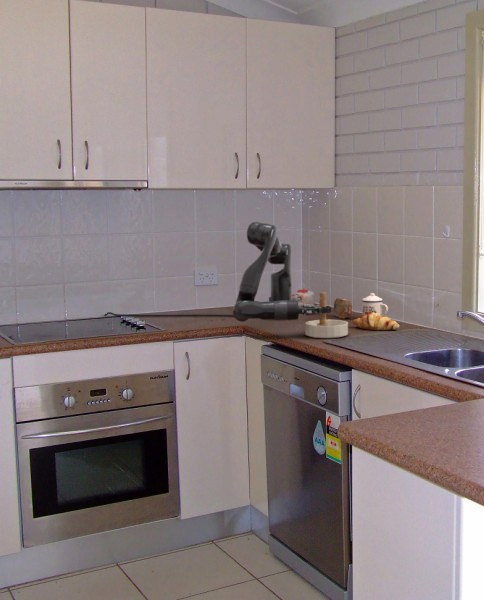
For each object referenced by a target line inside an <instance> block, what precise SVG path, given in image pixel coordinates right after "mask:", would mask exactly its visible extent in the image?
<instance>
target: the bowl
mask: <svg viewBox="0 0 484 600" xmlns="http://www.w3.org/2000/svg"><path fill="white" fill-rule="evenodd" d="M317 323H319V319H314V320H309V321H306V322H305V323H304V335H305V336H307V337H310V338H314V339H339V338H343V337H345V336H348V335H349V322H348V321H347V320H343V319H342V320H341V319H326V323H328V324H329V326H317Z"/></svg>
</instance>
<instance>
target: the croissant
mask: <svg viewBox="0 0 484 600" xmlns="http://www.w3.org/2000/svg"><path fill="white" fill-rule="evenodd" d="M351 322H352V324H353V325H355V326H356V327H358V328H359V329H364V330H368V331H369V330H370V331H390V330H398V329H399V328H400V324H399V323H397V321H396V320H393V319H391V318H390V316H386V315H382V316H381V315H380V314H378V313H373V312H372V313H370V314H369V315H368V316H364V317H363V316H362V317H357V318H356V319H351Z"/></svg>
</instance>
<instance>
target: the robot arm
mask: <svg viewBox="0 0 484 600" xmlns="http://www.w3.org/2000/svg"><path fill="white" fill-rule="evenodd" d="M277 234H278V230H277V226H276V225H275V224H272V223H268V222H263V221H258V220H254V221H251V222H249V224H248V226H247V228H246V235H245V236H246V240H247V242H248V243H249V244H251V245H252V246H255V248H257V249H258V250H259V252H260V253H259V255H258V256H257V257H256V259H254V261H252V263H250V264H249V265H248V267H246V268H245V270H244V272H243V274H242V276H241V279H240V283H239V286H238V294H237V297H236V300H235V303H234V305H233V307H232V314H218V313H217V314H214V313H213V314H210V313H209V314H207V313H205V314H203V313H201V314H200V313H199V314H195V313H193V314H191V313H190V314H189V313H188V314H184V313H183V314H121V313H120V314H119V313H113V312H110V311H109V312H106V313H107V314H106V313H105V314H103V316H104V317H106V316H107V315H112V316H114V317H147V318H148V317H151V318H152V317H153V318H154V317H158V318H159V317H228V318H229V317H233V318H234V319H235V320H236V321H238V322H242V323H243V322H247V321H248V320H249V319H260V320H263V321H270V320H271V321H272V320H273V321H274V320H275V321H297V320H298V319H299V316H300V315H302V316H307V317H308V316H317V315H319V314H321V313H326V314H331V313H332V306H330V305H326V307H319V304H314V305H313V304H312V305H307V304H303V306H299V305H298V301H297V300H292V295H293V291H292V290H293V287H292V286H293V284H292V260H293V251H292V245H291V244H290V243H285V242H282V241H281V239H280V238H279V237H278V235H277ZM267 263H269V264H271V265H283V267H282V268H281V269H279V270H276V271H274V272H271V273H270V277H269V278H270V280H269V281H270V296H269V297H268V300H267V301H258V300H255V299H256V296H257V294H258V290H259V287H260V283H261V279H262V276H263V273H264V271H265V268H266V266H267Z"/></svg>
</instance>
